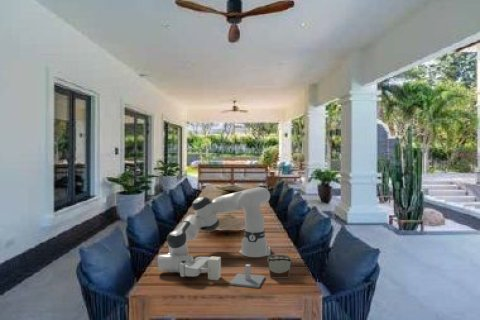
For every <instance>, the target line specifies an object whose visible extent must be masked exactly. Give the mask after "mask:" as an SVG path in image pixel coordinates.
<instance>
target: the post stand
mask: <svg viewBox="0 0 480 320" xmlns="http://www.w3.org/2000/svg"><path fill="white" fill-rule="evenodd" d="M251 267H252V266H251V264H250V263H249V264H248V263H247V264H245V266H244V273H239V272H238V273H236V275H235V276H234V277H233V278H232V280H231V281H230V282H229V286H234V285H235V286H236V287H242V288H243V287H244V288H245V287H246V288H253V289H254V288H255V289H260V287H261V285H262V283H264V280H265V279H266V276H265V275H259V274H252V273H251V271H252V270H251ZM235 286H234V287H235Z"/></svg>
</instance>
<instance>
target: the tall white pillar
mask: <svg viewBox="0 0 480 320" xmlns="http://www.w3.org/2000/svg"><path fill="white" fill-rule="evenodd" d="M209 257H210V258H209V259H208V267H207V268H211V271H210V272H207V280H212V281H218V280H219V279H220V278H221V277H222V275H221V274H222V273H221V272H222V267H221V266H222V257H221V256H209Z"/></svg>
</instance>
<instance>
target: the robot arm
mask: <svg viewBox="0 0 480 320" xmlns="http://www.w3.org/2000/svg"><path fill="white" fill-rule="evenodd" d="M270 199H271V193H270V191H269V190H268V188H266V187H261V186H260V187H259V186H258V187H257V186H256V187H253V188H250V189H245V190H244V189H243V190H241V191H235V192H232V193H228V194H227V193H226V194H222V195H219V196H217V197H215V198H214V199H212V198H210V197H207V196H200V197H197V198H196V199H194V200H193V201H192V203H191V206H192V209H193V211H194V214H189V215H187V216H186V217H185V218H184V219H183V220H182V221H180V222H179V223H178V224H177V225H176V227H175V228H174V229H173V230H172V231H170V232H169V233H168V235H167V236H166V242H167V247H168V252H167V253H166V254H165V253H163V254H159V255H158V256H157V258H156V259H157V260H156V264H157V269H158V270H159V271H162V272H167V273H178V274H179V276H180V277H181V278H182V277H183V278H184V277H198V276H199V275H201V274H204V273H208V272H210V271H211V268H208V259H209V258H210V257H211V256H196V257H195V258H194V257H193V256H192V255H189V249H188V243H187V242H188V241H189V242H190V241H193V240H195V239H196V238H197V236H198V234H199V231H204V232H212V231H215V230H217V229H218V228H219V225H220V220H219V218H218V216H217V214H227V213H232V212H238V211H242V210H243V214H244V219H245V222H244V232H243V234H244V237H243V238H242V239H241V249H240V250H239V251H238V253H239V254H241V255H242V256H244V257H249V258H262V257H269V256H271V247H270V246H268V244H267V243H268V241H267V238H266V231H265V218H264V214H262V211H261V206H264V205H266V204H267V203H268V202H269V201H270Z"/></svg>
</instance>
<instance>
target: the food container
mask: <svg viewBox="0 0 480 320" xmlns="http://www.w3.org/2000/svg"><path fill="white" fill-rule="evenodd" d="M267 263H268V270H269V278H270V279H278V278H279V279H280V278H281V279H283V278H285V279H286V278H287V279H289V278H290V271H291V263H293V260H292V257H291V256H289V255H286V254H272V255H271V254H270V255H269V256H267ZM277 277H278V278H277Z"/></svg>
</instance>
